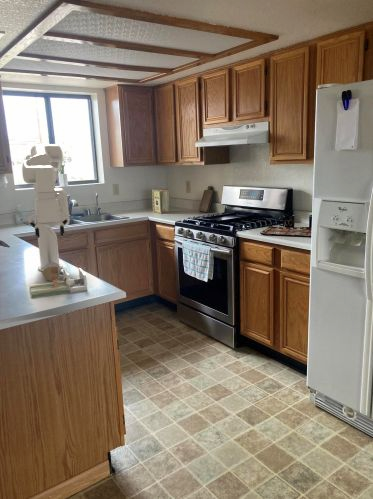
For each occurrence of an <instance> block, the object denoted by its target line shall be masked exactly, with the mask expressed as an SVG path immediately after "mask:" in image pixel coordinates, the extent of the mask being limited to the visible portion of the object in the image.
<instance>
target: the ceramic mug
mask: <svg viewBox="0 0 373 499" xmlns="http://www.w3.org/2000/svg"><path fill="white" fill-rule="evenodd" d="M56 265H57V267H58V276H59V279H61V280H64V276H63V271H61V269H62V268H61V269H60V266H59V265H58V264H57V263H55V262H50V263H48V264H46V265H45V268H44V270H43V271H42V276H43V278H44V279H45V280H46V281H48V282H50V281H51V282H53V280H52V279H51V273H50V266H56Z"/></svg>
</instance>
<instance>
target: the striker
mask: <svg viewBox="0 0 373 499" xmlns="http://www.w3.org/2000/svg"><path fill="white" fill-rule="evenodd" d="M50 273H51V279H52V283H53V286H54V288H55V287H58V282H59V279H60V278H59V276H58V267H57V265H56V266H50Z"/></svg>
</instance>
